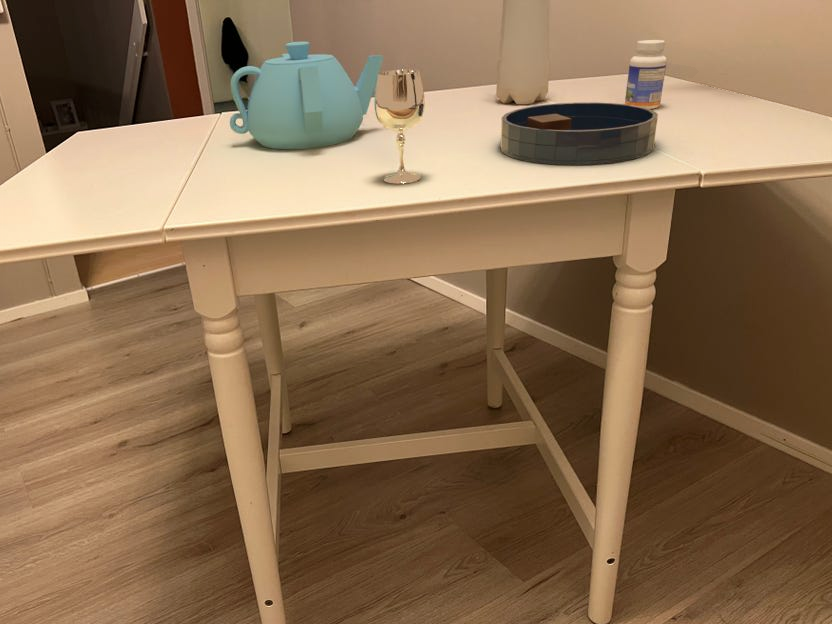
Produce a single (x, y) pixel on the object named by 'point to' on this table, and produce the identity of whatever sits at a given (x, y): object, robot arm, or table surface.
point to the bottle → (524, 52)
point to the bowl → (580, 134)
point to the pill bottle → (646, 75)
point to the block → (549, 122)
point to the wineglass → (399, 110)
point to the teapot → (303, 100)
